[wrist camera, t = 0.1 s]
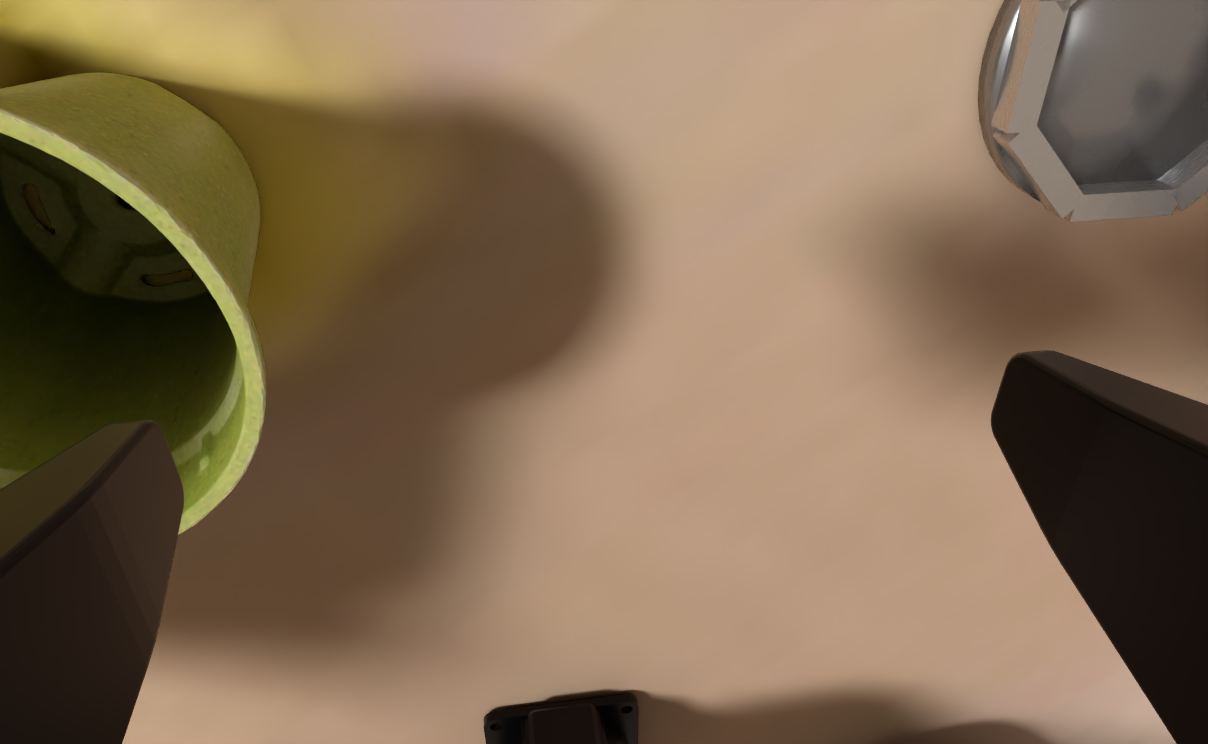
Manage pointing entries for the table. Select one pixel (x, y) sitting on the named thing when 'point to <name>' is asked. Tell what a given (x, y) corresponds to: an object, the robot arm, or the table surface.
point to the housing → (1099, 104)
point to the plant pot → (127, 280)
